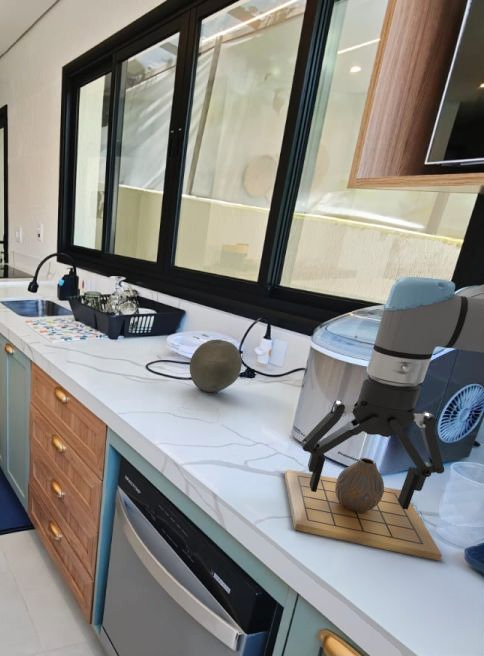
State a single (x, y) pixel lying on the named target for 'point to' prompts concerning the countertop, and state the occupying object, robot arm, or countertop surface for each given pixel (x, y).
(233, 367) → the cantaloupe
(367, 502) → the vase
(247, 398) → the countertop surface
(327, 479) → the board
